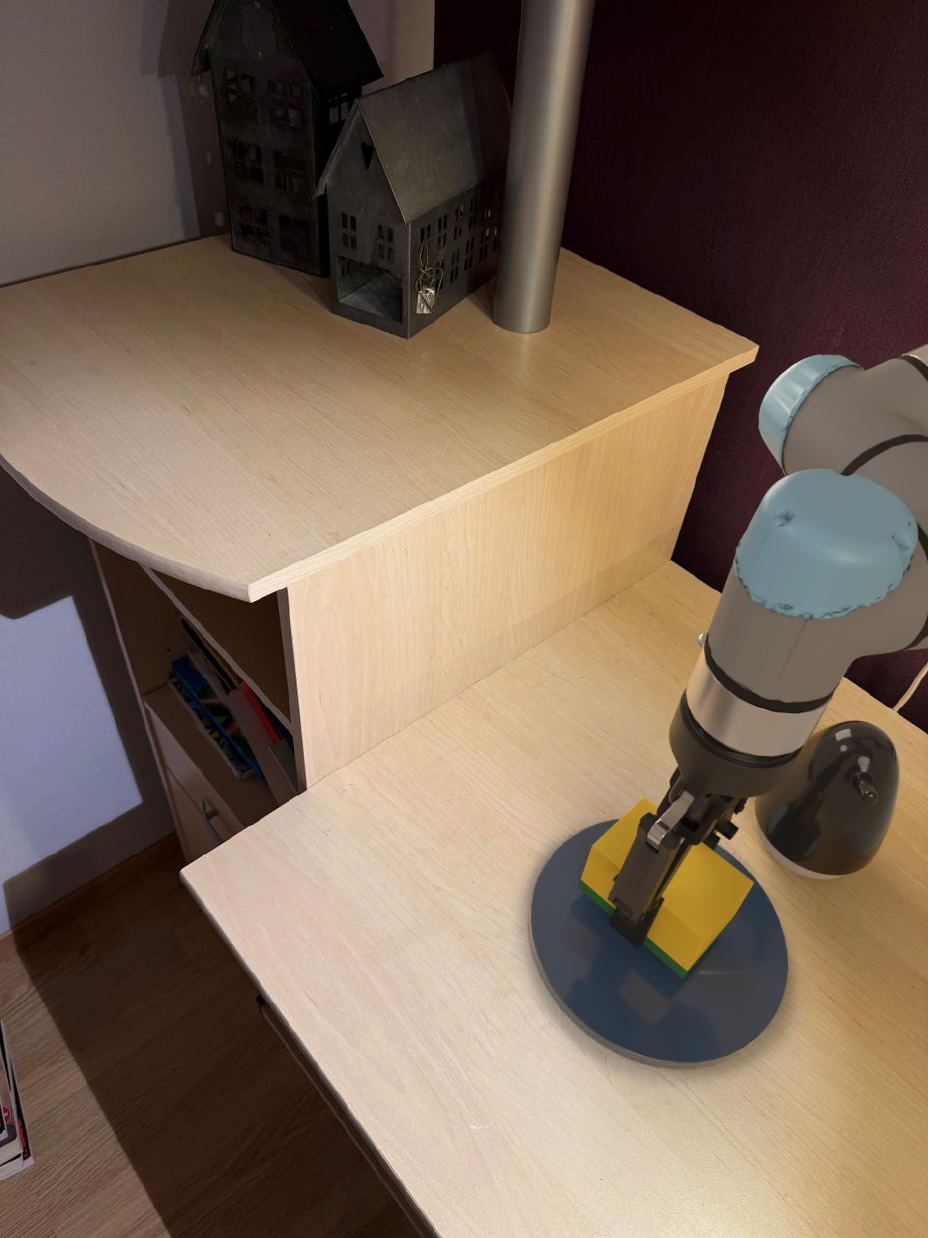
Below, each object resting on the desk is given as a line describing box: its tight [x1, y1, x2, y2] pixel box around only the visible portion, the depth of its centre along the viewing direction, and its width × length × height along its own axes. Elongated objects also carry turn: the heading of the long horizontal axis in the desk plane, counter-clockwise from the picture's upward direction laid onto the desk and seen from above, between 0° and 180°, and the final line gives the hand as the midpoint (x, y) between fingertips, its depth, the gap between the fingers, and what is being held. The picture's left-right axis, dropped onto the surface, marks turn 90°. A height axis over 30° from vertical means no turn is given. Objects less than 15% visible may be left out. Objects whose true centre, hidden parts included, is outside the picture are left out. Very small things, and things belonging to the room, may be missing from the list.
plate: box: [528, 818, 789, 1070], centre depth 71 cm, size 20×20×1 cm
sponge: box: [578, 796, 754, 979], centre depth 68 cm, size 10×6×6 cm, turn 45°
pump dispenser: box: [754, 719, 901, 880], centre depth 73 cm, size 10×10×15 cm
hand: (654, 902), depth 70 cm, fingers closed on sponge, 6 cm apart
